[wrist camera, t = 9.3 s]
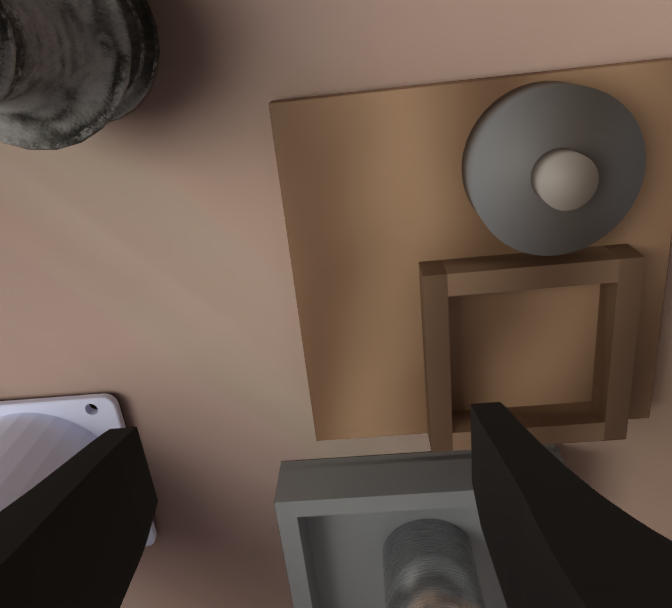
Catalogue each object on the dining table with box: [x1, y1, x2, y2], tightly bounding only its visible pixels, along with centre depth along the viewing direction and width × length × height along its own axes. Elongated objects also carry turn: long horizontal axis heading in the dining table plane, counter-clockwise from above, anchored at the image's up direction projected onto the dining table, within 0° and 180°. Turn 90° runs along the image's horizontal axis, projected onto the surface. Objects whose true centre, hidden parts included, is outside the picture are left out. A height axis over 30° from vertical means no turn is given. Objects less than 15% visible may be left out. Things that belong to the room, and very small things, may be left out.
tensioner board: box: [269, 58, 672, 452], centre depth 20 cm, size 13×13×4 cm
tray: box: [274, 444, 567, 608], centre depth 27 cm, size 12×12×2 cm
